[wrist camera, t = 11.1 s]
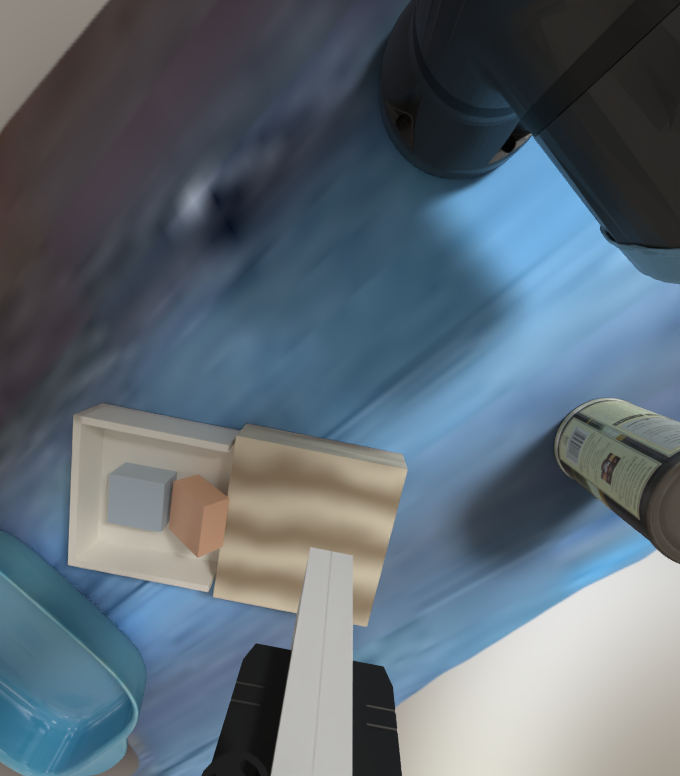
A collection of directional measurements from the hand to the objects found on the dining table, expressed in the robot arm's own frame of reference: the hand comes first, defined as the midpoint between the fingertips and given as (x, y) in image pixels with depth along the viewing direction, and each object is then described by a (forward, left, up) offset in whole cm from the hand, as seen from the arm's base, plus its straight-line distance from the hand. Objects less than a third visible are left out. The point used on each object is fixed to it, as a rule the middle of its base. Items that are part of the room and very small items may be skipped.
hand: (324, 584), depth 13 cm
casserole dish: (+39, -33, -30) cm, 60 cm away
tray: (+16, -18, -29) cm, 38 cm away
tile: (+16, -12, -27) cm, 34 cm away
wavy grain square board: (+16, -1, -29) cm, 33 cm away
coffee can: (0, +29, -30) cm, 41 cm away
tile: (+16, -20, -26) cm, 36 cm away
